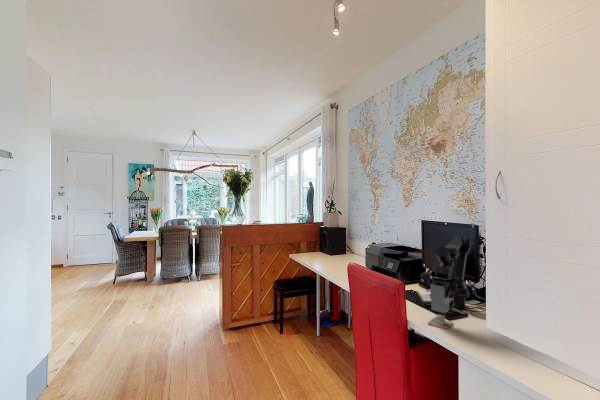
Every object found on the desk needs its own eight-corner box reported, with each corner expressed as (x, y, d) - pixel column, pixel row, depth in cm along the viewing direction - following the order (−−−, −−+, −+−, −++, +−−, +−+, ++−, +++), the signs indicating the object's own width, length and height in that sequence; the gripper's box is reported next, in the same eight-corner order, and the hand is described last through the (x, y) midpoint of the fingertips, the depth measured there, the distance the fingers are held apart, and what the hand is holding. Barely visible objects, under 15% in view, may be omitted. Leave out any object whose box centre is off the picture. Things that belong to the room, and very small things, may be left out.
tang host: (434, 319, 130) (433, 311, 130) (453, 325, 124) (452, 316, 124) (427, 325, 124) (427, 316, 124) (447, 331, 118) (447, 321, 118)
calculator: (423, 300, 146) (417, 290, 161) (423, 308, 146) (417, 297, 161) (444, 301, 144) (436, 291, 158) (445, 309, 144) (436, 298, 158)
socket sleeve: (435, 306, 128) (434, 281, 128) (449, 309, 124) (448, 283, 124) (431, 309, 124) (430, 284, 124) (445, 313, 120) (444, 286, 120)
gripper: (421, 256, 134) (413, 283, 126) (463, 261, 120) (456, 291, 113) (428, 269, 139) (420, 295, 131) (468, 275, 126) (462, 304, 118)
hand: (438, 296), depth 123 cm, fingers closed on socket sleeve, 6 cm apart
